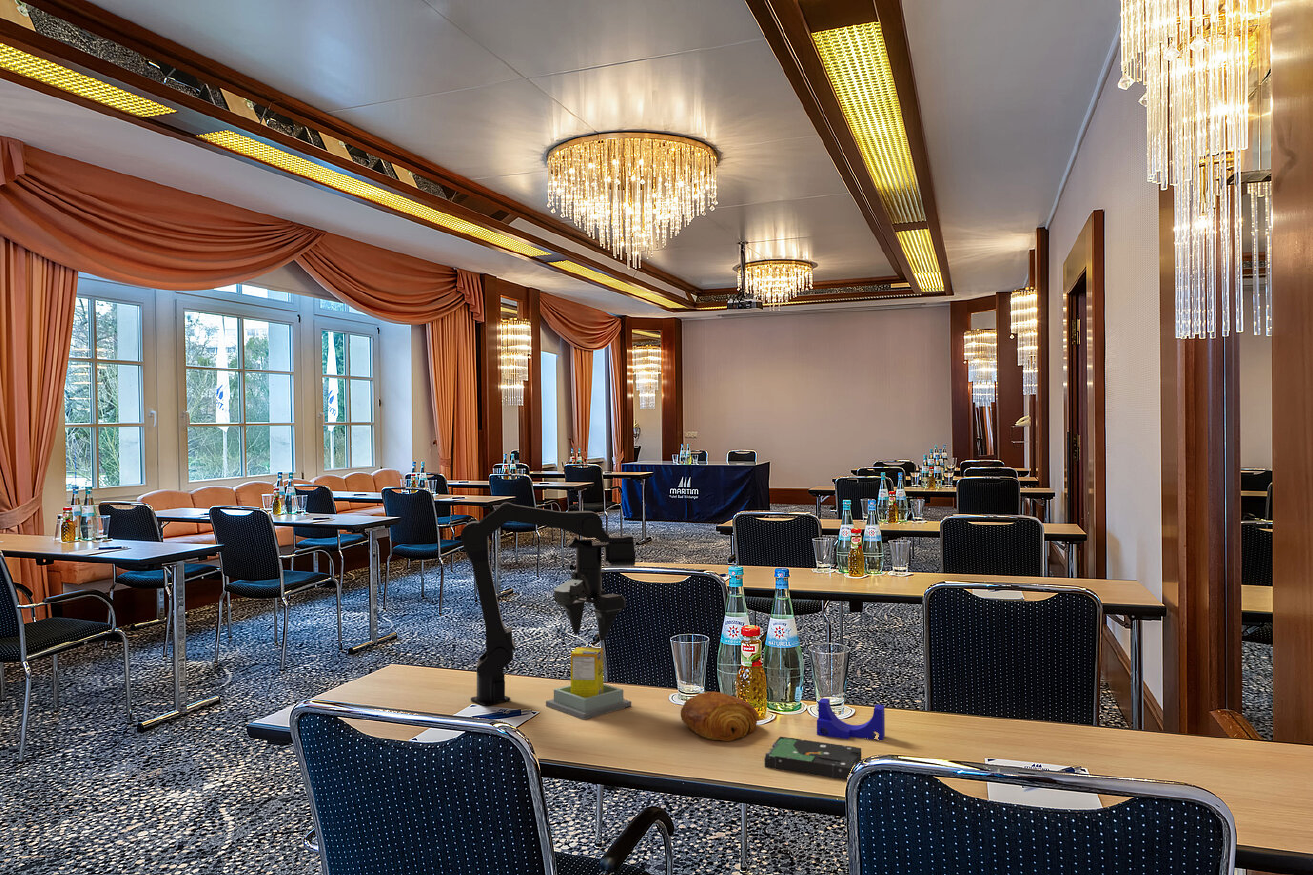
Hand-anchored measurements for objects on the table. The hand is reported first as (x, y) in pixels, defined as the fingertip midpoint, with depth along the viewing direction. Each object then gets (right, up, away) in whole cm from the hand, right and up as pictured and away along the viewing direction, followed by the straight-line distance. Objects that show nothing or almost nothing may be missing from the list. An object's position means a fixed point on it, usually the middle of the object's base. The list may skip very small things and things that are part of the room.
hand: (589, 637), depth 182 cm
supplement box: (0, -12, -8) cm, 14 cm away
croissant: (+28, -13, -23) cm, 38 cm away
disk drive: (+42, -12, -42) cm, 61 cm away
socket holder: (+1, -13, -8) cm, 15 cm away
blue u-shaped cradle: (+52, -13, -27) cm, 60 cm away
